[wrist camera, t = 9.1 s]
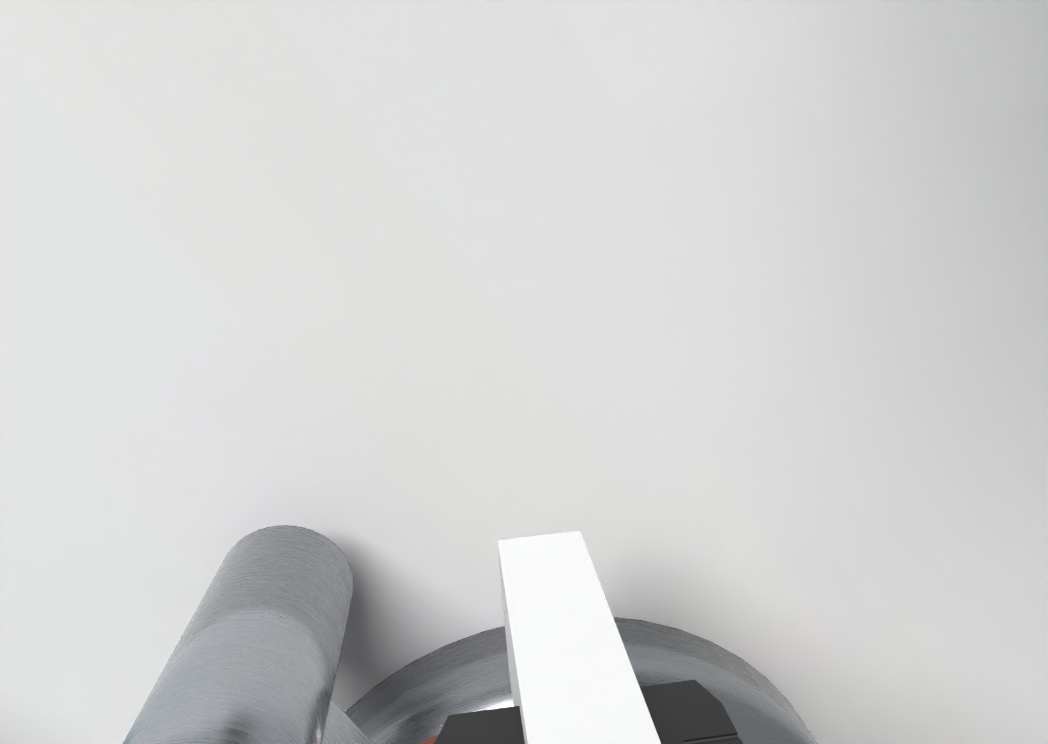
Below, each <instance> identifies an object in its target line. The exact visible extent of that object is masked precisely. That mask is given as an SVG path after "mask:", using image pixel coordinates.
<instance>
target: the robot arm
mask: <svg viewBox="0 0 1048 744" xmlns="http://www.w3.org/2000/svg"><path fill="white" fill-rule="evenodd" d="M497 541H498V552H499V564H500V575H501V586H502V598H503V609H504V621H505V632H506V644H507V655H508V666H509V675H510V683H511V690H512V698H513V705H514V706H513V707H505V708H498V709H490V710H483V711H475V712H468V713H460V714H453V715H448V717H447V719H446V721H445V723H444V725H443V727H442V729H441V731H440V733H439V735H438V737H437V739H436V741H435V743H434V744H743V742H742V740H741V739H739V738H738V733H737V731H736V729H735V727H734V725H733V723H732V721H731V719H730V717H729V716H728V714H727V712H726V710H725V708H724V706H723V704H722V703H721V702H720V701H719V700H718V699H717V698H716V697H714V696H713V695H712V694H711V693H710V692H709V691H707V690H706V689H705V688H704V687H703V686H702V685H700V684H699V683H698V682H697V681H696V680H688V681H681V682H673V683H666V684H658V685H651V686H643V687H639V684H638V682H637V679H636V676H635V674H634V671H633V668H632V666H631V663H630V660H629V658H628V655H627V653H626V650H625V647H624V645H623V642H622V639H621V637H620V634H619V632H618V629H617V626H616V624H615V621H614V618H613V616H612V613H611V610H610V608H609V605H608V603H607V600H606V597H605V595H604V592H603V589H602V587H601V584H600V582H599V579H598V576H597V574H596V571H595V568H594V566H593V563H592V560H591V558H590V555H589V553H588V550H587V547H586V545H585V542H584V539H583V537H582V534H581V532H580V531H573V532H564V533H555V534H547V535H538V536H529V537H521V538H512V539H503V540H497Z"/></svg>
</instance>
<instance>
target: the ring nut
mask: <svg viewBox="0 0 1048 744" xmlns="http://www.w3.org/2000/svg"><path fill="white" fill-rule="evenodd" d="M352 594H353V575H352V571H351V568H350V565H349V563H348V561H347V559H346V557H345V555H344V554H343V553H342V551H341V550H340V549H339V548H338V547H337V546H336V545H335V544H334V543H333V542H332V541H330V540H329V539H328V538H326V537H325V536H323V535H321V534H319V533H317V532H315V531H313V530H310V529H306V528H303V527H298V526H288V525H283V526H273V527H267V528H264V529H260V530H258V531H255V532H253V533H251V534H249V535H247V536H246V537H244V538H243V539H241V540H240V541H239V542H238V543H236V545H235V546H234V547H233V548H232V549H231V550H230V551H229V553H228V554H227V555H226V557H225V559H224V561H223V563H222V565H221V566H220V568H219V570H218V572H217V574H216V575H215V577H214V579H213V581H212V583H211V584H210V586H209V588H208V590H207V592H206V594H205V595H204V597H203V599H202V601H201V603H200V604H199V606H198V608H197V610H196V612H195V614H194V615H193V617H192V619H191V621H190V623H189V624H188V626H187V628H186V630H185V632H184V633H183V635H182V637H181V639H180V641H179V643H178V644H177V646H176V648H175V650H174V652H173V653H172V655H171V657H170V659H169V661H168V663H167V664H166V666H165V668H164V670H163V672H162V673H161V675H160V677H159V679H158V681H157V682H156V684H155V686H154V688H153V690H152V692H151V693H150V695H149V697H148V699H147V701H146V702H145V704H144V706H143V708H142V710H141V712H140V713H139V715H138V717H137V719H136V721H135V722H134V724H133V726H132V728H131V730H130V731H129V733H128V735H127V737H126V739H125V741H124V742H123V744H373V743H372V742H371V741H370V740H369V739H368V737H367V736H366V735H365V734H364V733H363V732H362V731H361V730H360V729H359V728H358V727H357V726H356V725H355V724H354V723H353V722H352V721H351V719H350V718H349V717H348V716H347V715H346V714H345V713H344V712H343V711H342V710H341V709H340V708H339V707H338V706H337V705H336V704H335V702H334V701H333V700H332V699H331V696H332V691H333V687H334V682H335V677H336V672H337V667H338V662H339V657H340V652H341V648H342V643H343V638H344V633H345V628H346V623H347V618H348V613H349V609H350V604H351V599H352Z"/></svg>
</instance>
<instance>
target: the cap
mask: <svg viewBox="0 0 1048 744" xmlns="http://www.w3.org/2000/svg"><path fill="white" fill-rule="evenodd" d="M613 618H614V621H615V624H616V626H617V629H618V632H619V634H620V637H621V639H622V642H623V645H624V647H625V650H626V653H627V655H628V658H629V660H630V663H631V666H632V668H633V671H634V674H635V676H636V679H637V682H638V684H639V687H643V686H651V685H658V684H666V683H673V682H681V681H688V680H696V681H697V682H698V683H699V684H700V685H702V686H703V687H704V688H705V689H706V690H707V691H709V692H710V693H711V694H712V695H713V696H714V697H716V698H717V699H718V700H719V701H720V702H721V703H722V704H723V706H724V708H725V710H726V712H727V714H728V716H729V717H730V719H731V721H732V723H733V725H734V727H735V729H736V731H737V733H738V738H739V739H741V740H742V742H743V744H817V743H816V741H815V740H814V738H813V737H812V735H811V734H810V732H809V731H808V729H807V728H806V726H805V725H804V723H803V722H802V720H801V719H800V717H799V716H798V714H797V713H796V711H795V710H794V709H793V707H792V706H791V704H790V703H789V701H788V700H787V699H786V698H785V697H784V696H783V695H782V694H781V693H780V691H779V690H778V689H777V688H776V687H775V686H774V685H773V684H772V683H771V682H770V681H769V680H768V679H767V678H766V677H765V676H763V675H762V674H761V673H760V672H758V671H757V670H756V669H754V668H753V667H752V666H750V665H749V664H748V663H746V662H745V661H744V660H742V659H741V658H740V657H738V656H736V655H734V654H732V653H731V652H729V651H727V650H725V649H723V648H721V647H720V646H718V645H716V644H714V643H712V642H710V641H708V640H705V639H703V638H700V637H697V636H695V635H692V634H690V633H687V632H684V631H682V630H679V629H675V628H671V627H667V626H663V625H659V624H655V623H651V622H646V621H642V620H633V619H624V618H615V617H613ZM513 706H514V705H513V698H512V690H511V683H510V675H509V666H508V655H507V644H506V632H505V626H504V627H500V628H496V629H492V630H487V631H484V632H481V633H478V634H476V635H473V636H470V637H467V638H465V639H462V640H459V641H456V642H454V643H451V644H448V645H446V646H444V647H442V648H440V649H438V650H436V651H434V652H432V653H430V654H428V655H426V656H424V657H422V658H420V659H418V660H416V661H414V662H412V663H410V664H409V665H407V666H405V667H404V668H402V669H401V670H399V671H398V672H396V673H395V674H393V675H392V676H390V677H389V678H387V679H386V680H384V681H383V682H381V683H380V684H378V685H377V686H376V687H374V688H373V689H372V690H371V691H370V692H369V693H367V694H366V695H365V696H364V697H363V698H361V699H360V700H359V701H358V702H357V703H356V704H354V705H353V706H352V707H351V708H350V709H349V710H348V711H347V712H346V713H345V714H346V715H347V716H348V717H349V718H350V719H351V721H352V722H353V723H354V724H355V725H356V726H357V727H358V728H359V729H360V730H361V731H362V732H363V733H364V734H365V735H366V736H367V737H368V739H369V740H370V741H371V742H372V743H373V744H434V743H435V741H436V739H437V737H438V735H439V733H440V731H441V729H442V727H443V725H444V723H445V721H446V719H447V717H448V715H453V714H460V713H468V712H475V711H483V710H490V709H498V708H505V707H513Z"/></svg>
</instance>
